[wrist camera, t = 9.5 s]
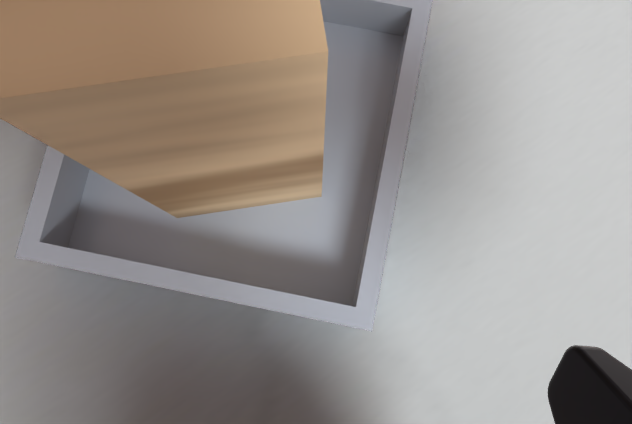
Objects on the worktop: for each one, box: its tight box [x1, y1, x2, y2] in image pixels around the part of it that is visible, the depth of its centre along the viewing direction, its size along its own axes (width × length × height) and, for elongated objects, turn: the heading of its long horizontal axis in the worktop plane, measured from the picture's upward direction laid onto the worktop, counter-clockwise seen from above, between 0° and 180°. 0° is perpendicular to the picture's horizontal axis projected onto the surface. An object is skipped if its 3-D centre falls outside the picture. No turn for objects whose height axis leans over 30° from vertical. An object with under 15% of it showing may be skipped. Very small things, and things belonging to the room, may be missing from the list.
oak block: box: [0, 0, 328, 218], centre depth 13 cm, size 5×5×11 cm
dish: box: [15, 0, 433, 331], centre depth 18 cm, size 11×11×2 cm
